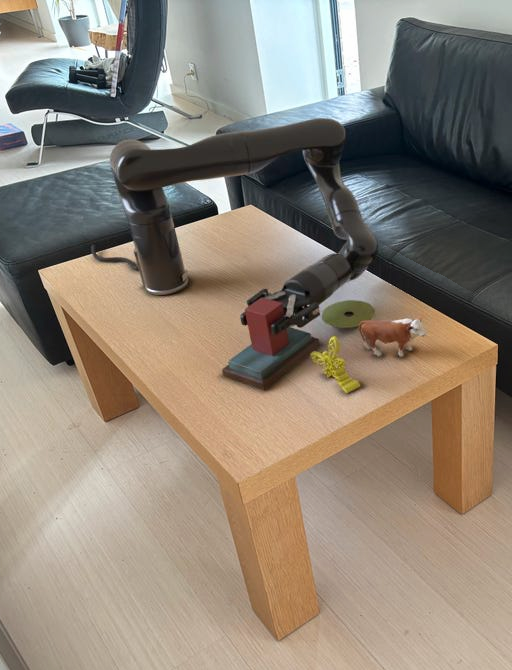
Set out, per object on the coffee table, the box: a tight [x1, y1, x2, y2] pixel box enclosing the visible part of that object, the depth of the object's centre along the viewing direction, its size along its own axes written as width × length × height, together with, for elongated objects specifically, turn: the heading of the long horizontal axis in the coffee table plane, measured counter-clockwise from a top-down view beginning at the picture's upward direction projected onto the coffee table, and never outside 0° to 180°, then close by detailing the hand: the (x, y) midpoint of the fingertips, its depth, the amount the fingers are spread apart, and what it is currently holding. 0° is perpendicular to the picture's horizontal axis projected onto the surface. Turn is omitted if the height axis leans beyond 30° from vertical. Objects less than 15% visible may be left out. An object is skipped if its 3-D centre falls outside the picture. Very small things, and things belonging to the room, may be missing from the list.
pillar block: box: [244, 298, 289, 356], centre depth 139 cm, size 5×5×9 cm
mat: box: [321, 299, 376, 329], centre depth 154 cm, size 11×11×2 cm
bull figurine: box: [358, 317, 427, 358], centre depth 142 cm, size 4×13×8 cm, turn 78°
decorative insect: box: [309, 335, 361, 394], centre depth 135 cm, size 13×3×10 cm
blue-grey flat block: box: [221, 327, 320, 391], centre depth 142 cm, size 10×17×3 cm, turn 151°
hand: (257, 325), depth 136 cm, fingers open, 7 cm apart
